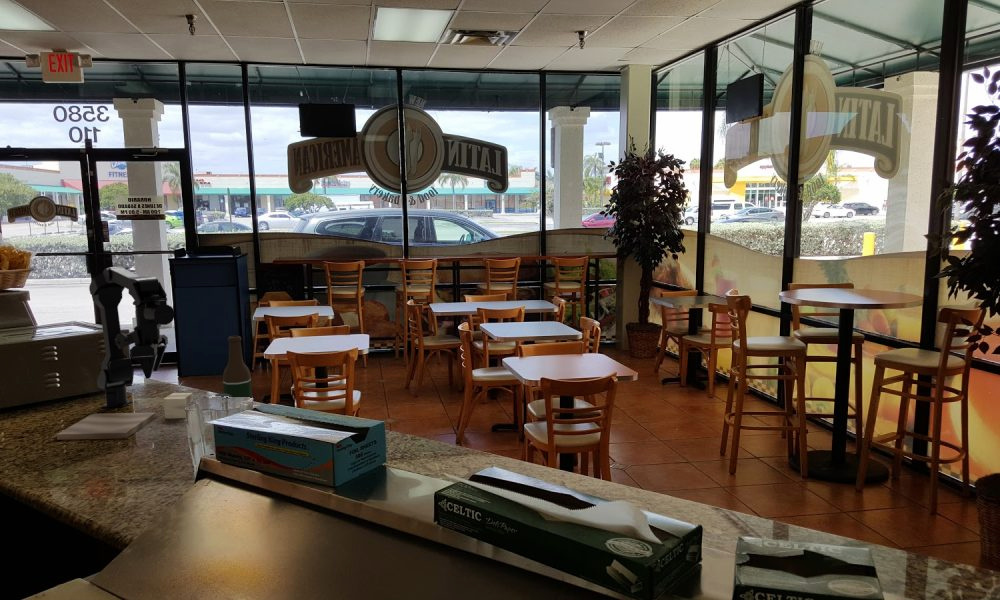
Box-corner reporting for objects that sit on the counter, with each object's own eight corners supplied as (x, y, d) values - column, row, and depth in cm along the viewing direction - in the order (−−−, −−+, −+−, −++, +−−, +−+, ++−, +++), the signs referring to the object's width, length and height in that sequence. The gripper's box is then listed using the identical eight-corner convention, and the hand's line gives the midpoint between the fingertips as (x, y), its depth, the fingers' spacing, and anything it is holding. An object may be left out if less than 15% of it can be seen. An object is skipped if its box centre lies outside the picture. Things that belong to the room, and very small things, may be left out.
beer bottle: (219, 418, 200) (214, 337, 196) (238, 410, 207) (233, 333, 204) (239, 421, 197) (235, 339, 193) (258, 413, 204) (254, 335, 201)
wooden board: (93, 418, 199) (92, 413, 199) (156, 417, 200) (155, 412, 200) (57, 439, 182) (56, 434, 181) (126, 438, 183) (126, 432, 182)
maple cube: (173, 412, 206) (172, 393, 205) (194, 412, 206) (192, 392, 205) (165, 418, 200) (163, 398, 199) (186, 418, 200) (184, 398, 199)
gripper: (125, 317, 201) (129, 369, 204) (106, 328, 184) (111, 384, 186) (166, 315, 204) (170, 366, 206) (152, 326, 186) (156, 381, 189)
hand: (151, 374), depth 197 cm, fingers open, 9 cm apart
